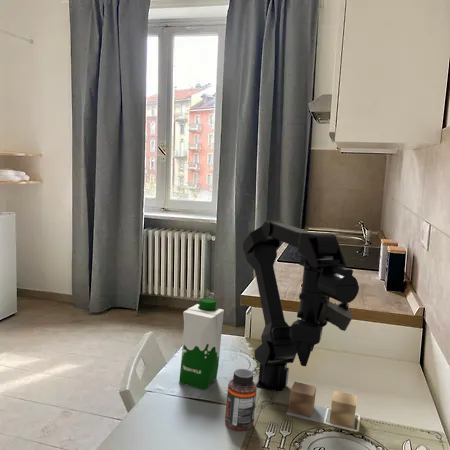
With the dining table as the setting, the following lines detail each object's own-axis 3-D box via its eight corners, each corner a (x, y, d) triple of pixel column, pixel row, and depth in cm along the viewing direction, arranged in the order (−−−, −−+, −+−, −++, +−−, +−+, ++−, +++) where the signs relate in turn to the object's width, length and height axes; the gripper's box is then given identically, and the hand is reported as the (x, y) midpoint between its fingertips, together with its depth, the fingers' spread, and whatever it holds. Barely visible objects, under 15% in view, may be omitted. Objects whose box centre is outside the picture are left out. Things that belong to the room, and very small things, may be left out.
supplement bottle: (223, 416, 98) (227, 365, 96) (250, 417, 98) (255, 366, 97) (225, 432, 92) (230, 378, 91) (255, 433, 92) (260, 379, 91)
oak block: (329, 422, 98) (331, 400, 98) (331, 411, 103) (334, 390, 103) (353, 428, 97) (356, 406, 96) (354, 417, 102) (357, 395, 101)
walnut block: (288, 412, 101) (290, 390, 101) (292, 401, 106) (294, 381, 105) (310, 417, 100) (313, 396, 99) (314, 407, 104) (316, 386, 104)
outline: (323, 423, 98) (323, 422, 98) (327, 408, 105) (327, 407, 105) (358, 432, 95) (358, 431, 95) (360, 415, 102) (360, 415, 102)
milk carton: (221, 378, 116) (228, 301, 113) (206, 393, 107) (213, 310, 105) (190, 369, 119) (196, 295, 116) (173, 383, 110) (179, 303, 108)
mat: (286, 414, 100) (286, 413, 100) (292, 400, 107) (292, 399, 107) (354, 431, 96) (354, 431, 96) (355, 416, 102) (356, 415, 102)
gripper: (349, 307, 88) (340, 383, 90) (355, 286, 106) (347, 351, 108) (292, 297, 92) (284, 371, 94) (307, 279, 109) (300, 341, 111)
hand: (307, 358), depth 102 cm, fingers open, 9 cm apart
